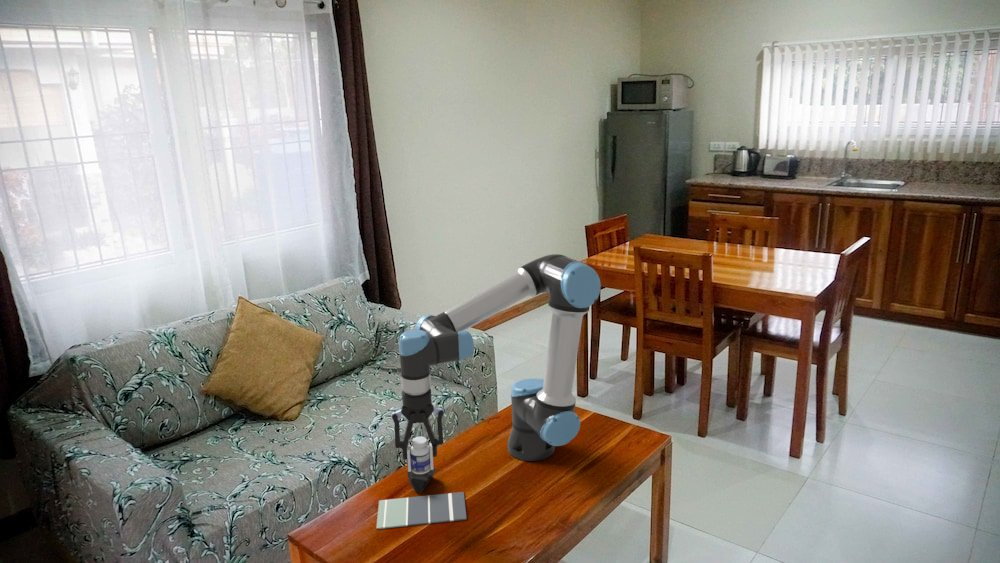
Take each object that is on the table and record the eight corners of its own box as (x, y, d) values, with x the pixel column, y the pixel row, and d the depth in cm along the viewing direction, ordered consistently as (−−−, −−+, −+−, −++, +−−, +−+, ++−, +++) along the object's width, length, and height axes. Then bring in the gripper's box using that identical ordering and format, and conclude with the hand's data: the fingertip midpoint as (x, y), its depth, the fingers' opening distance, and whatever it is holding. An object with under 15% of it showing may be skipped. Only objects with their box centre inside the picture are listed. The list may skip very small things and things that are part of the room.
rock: (396, 487, 188) (394, 470, 186) (412, 471, 195) (411, 454, 193) (425, 496, 183) (424, 479, 181) (441, 479, 191) (440, 462, 189)
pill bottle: (409, 466, 174) (407, 437, 172) (428, 462, 176) (426, 433, 173) (413, 476, 169) (412, 446, 167) (433, 472, 171) (431, 442, 169)
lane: (463, 493, 184) (463, 491, 184) (466, 519, 172) (466, 518, 172) (379, 501, 181) (379, 500, 181) (376, 529, 170) (376, 528, 170)
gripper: (450, 380, 171) (453, 457, 177) (381, 385, 168) (386, 463, 175) (452, 393, 163) (455, 472, 170) (380, 398, 161) (385, 478, 168)
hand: (420, 467), depth 172 cm, fingers closed on pill bottle, 5 cm apart
